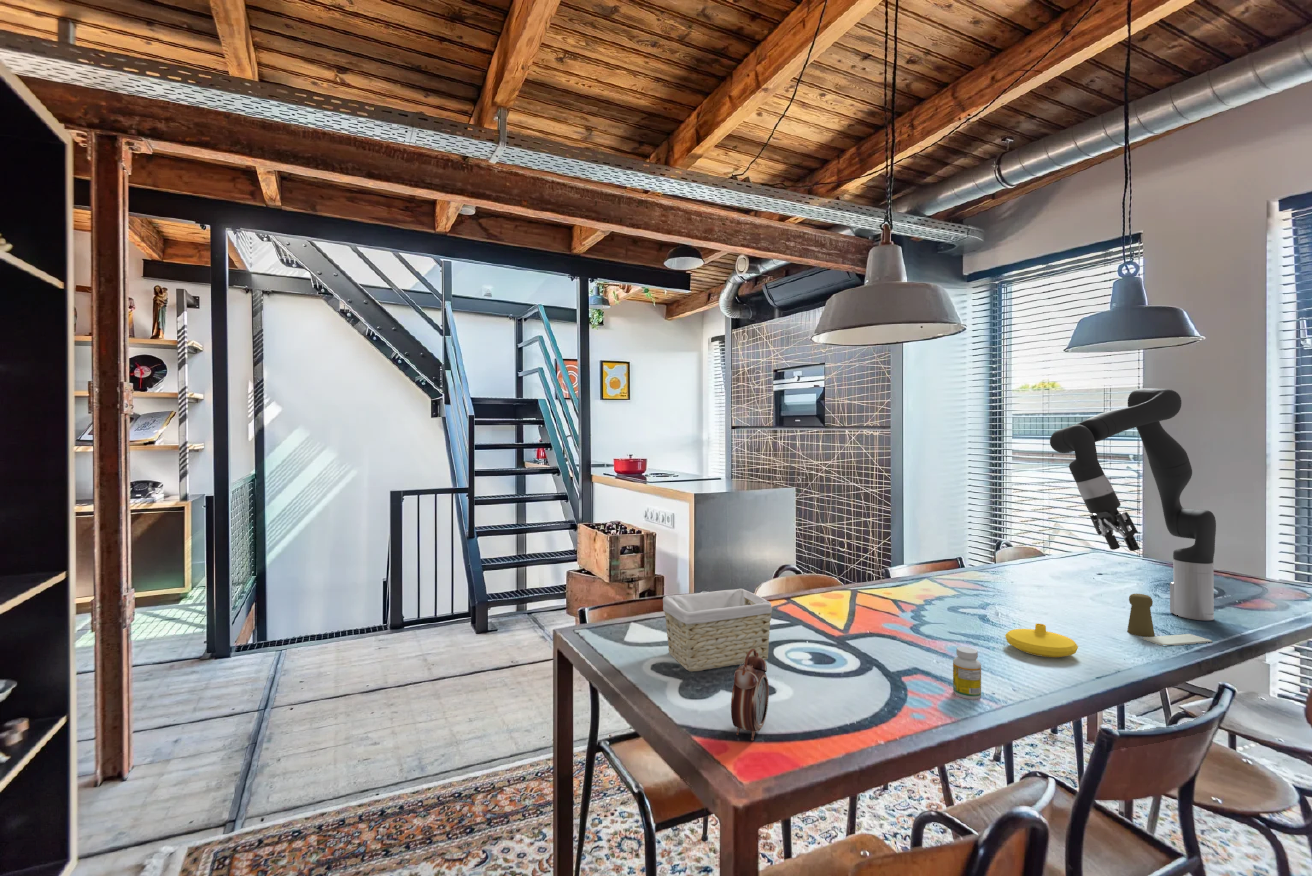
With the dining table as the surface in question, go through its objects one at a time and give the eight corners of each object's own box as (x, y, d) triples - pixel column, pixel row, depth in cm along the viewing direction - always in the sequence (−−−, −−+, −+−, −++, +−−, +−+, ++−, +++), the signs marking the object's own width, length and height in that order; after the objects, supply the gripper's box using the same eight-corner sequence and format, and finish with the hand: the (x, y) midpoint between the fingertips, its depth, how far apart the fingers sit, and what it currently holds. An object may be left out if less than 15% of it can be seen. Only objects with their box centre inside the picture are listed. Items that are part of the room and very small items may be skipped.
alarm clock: (754, 747, 104) (754, 662, 104) (728, 741, 106) (728, 658, 106) (769, 721, 114) (770, 643, 114) (745, 716, 116) (745, 639, 116)
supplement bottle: (978, 702, 122) (978, 656, 122) (950, 695, 126) (949, 650, 126) (983, 694, 126) (983, 649, 126) (956, 687, 130) (956, 643, 130)
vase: (1066, 646, 157) (1066, 619, 157) (1088, 667, 142) (1088, 637, 142) (999, 639, 162) (998, 613, 162) (1013, 659, 147) (1013, 630, 147)
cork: (1159, 637, 163) (1159, 597, 163) (1134, 636, 164) (1134, 596, 164) (1146, 630, 169) (1146, 592, 169) (1122, 629, 170) (1122, 591, 170)
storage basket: (684, 676, 136) (684, 611, 136) (660, 652, 152) (660, 594, 152) (775, 663, 144) (775, 602, 144) (743, 641, 160) (743, 587, 160)
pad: (1142, 639, 162) (1142, 637, 162) (1189, 635, 165) (1189, 633, 165) (1163, 646, 156) (1164, 644, 156) (1212, 642, 159) (1212, 640, 159)
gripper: (1127, 487, 158) (1156, 546, 155) (1096, 490, 172) (1122, 544, 169) (1098, 497, 159) (1127, 555, 156) (1070, 499, 173) (1096, 552, 169)
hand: (1125, 549), depth 162 cm, fingers open, 8 cm apart
